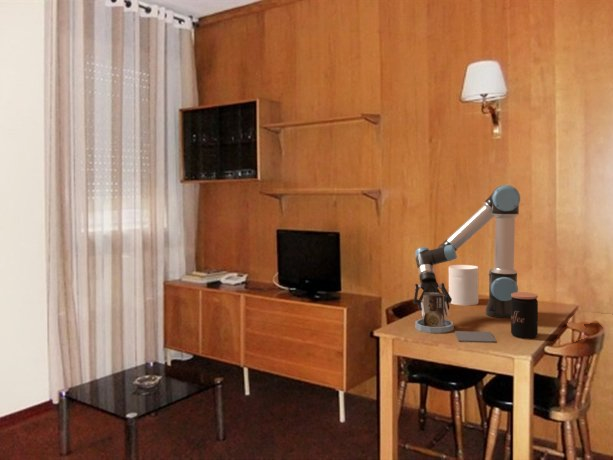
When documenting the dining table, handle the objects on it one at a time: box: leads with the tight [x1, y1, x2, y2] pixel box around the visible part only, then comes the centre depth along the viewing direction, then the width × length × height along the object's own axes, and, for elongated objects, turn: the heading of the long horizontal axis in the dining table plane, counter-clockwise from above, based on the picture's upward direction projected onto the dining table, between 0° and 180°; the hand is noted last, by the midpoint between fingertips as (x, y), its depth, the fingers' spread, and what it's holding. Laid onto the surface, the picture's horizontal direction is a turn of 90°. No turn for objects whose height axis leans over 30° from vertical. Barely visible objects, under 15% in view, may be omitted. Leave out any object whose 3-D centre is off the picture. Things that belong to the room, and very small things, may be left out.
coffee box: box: [422, 292, 446, 327], centre depth 236 cm, size 9×6×16 cm
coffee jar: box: [510, 291, 539, 340], centre depth 220 cm, size 11×11×18 cm
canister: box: [448, 264, 479, 306], centre depth 287 cm, size 16×16×20 cm
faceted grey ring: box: [414, 318, 455, 334], centre depth 237 cm, size 17×17×2 cm
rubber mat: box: [454, 330, 497, 343], centre depth 220 cm, size 15×14×1 cm
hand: (435, 315), depth 234 cm, fingers closed on coffee box, 10 cm apart
